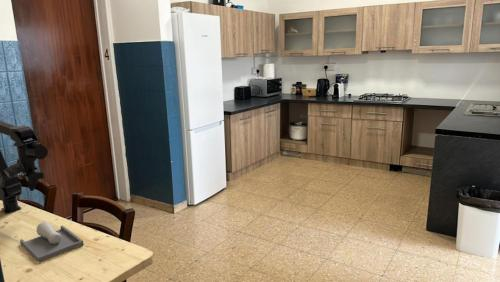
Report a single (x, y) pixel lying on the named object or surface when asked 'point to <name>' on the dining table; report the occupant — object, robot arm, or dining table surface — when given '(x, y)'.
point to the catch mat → (52, 245)
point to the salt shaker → (48, 232)
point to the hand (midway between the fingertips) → (31, 190)
